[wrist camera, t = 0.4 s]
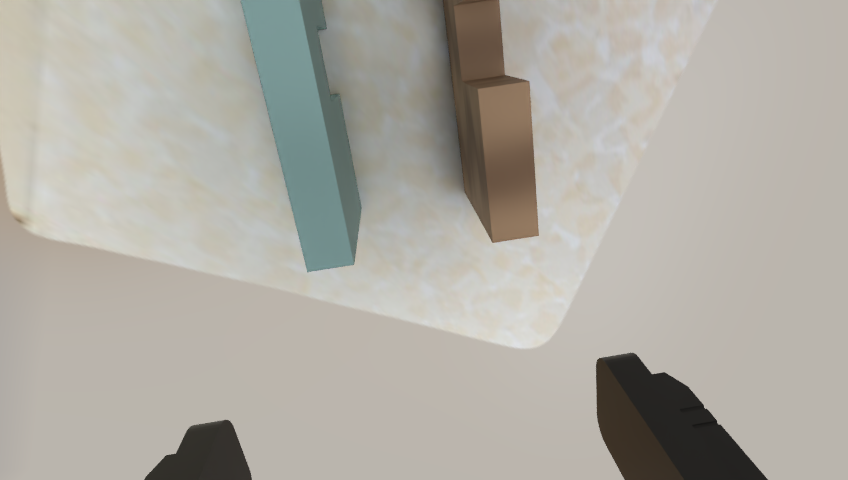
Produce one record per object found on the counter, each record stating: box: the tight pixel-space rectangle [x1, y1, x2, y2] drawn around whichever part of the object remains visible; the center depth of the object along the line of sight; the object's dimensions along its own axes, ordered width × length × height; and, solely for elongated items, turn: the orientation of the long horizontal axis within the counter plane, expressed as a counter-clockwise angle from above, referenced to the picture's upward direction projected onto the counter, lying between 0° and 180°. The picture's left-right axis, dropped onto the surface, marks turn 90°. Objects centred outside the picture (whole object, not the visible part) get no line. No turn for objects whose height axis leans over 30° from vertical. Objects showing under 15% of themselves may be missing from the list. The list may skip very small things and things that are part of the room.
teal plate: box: [241, 0, 362, 272], centre depth 28 cm, size 2×20×10 cm, turn 8°
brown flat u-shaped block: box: [443, 0, 539, 243], centre depth 28 cm, size 20×2×10 cm, turn 8°
